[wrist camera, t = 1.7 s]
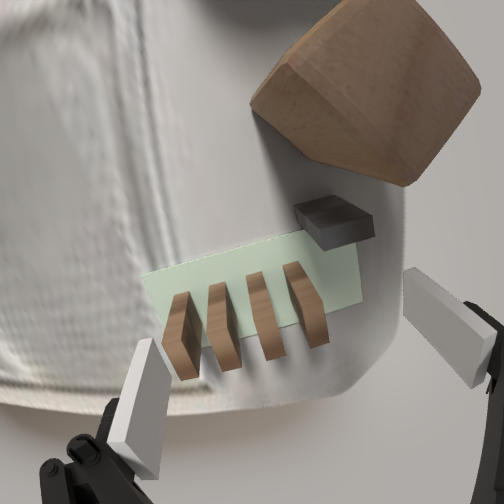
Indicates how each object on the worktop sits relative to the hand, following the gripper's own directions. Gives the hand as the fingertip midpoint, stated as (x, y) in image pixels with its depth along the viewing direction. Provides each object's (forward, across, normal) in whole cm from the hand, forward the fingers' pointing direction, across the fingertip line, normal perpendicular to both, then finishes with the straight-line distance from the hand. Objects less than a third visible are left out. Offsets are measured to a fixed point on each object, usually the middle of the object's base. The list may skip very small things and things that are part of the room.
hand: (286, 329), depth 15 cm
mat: (+22, -1, -9) cm, 24 cm away
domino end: (+22, -10, -9) cm, 25 cm away
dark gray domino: (+22, +8, 0) cm, 23 cm away
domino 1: (+22, -5, -9) cm, 24 cm away
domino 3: (+22, +4, -8) cm, 24 cm away
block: (+22, +10, +12) cm, 27 cm away
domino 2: (+22, -1, -9) cm, 23 cm away
